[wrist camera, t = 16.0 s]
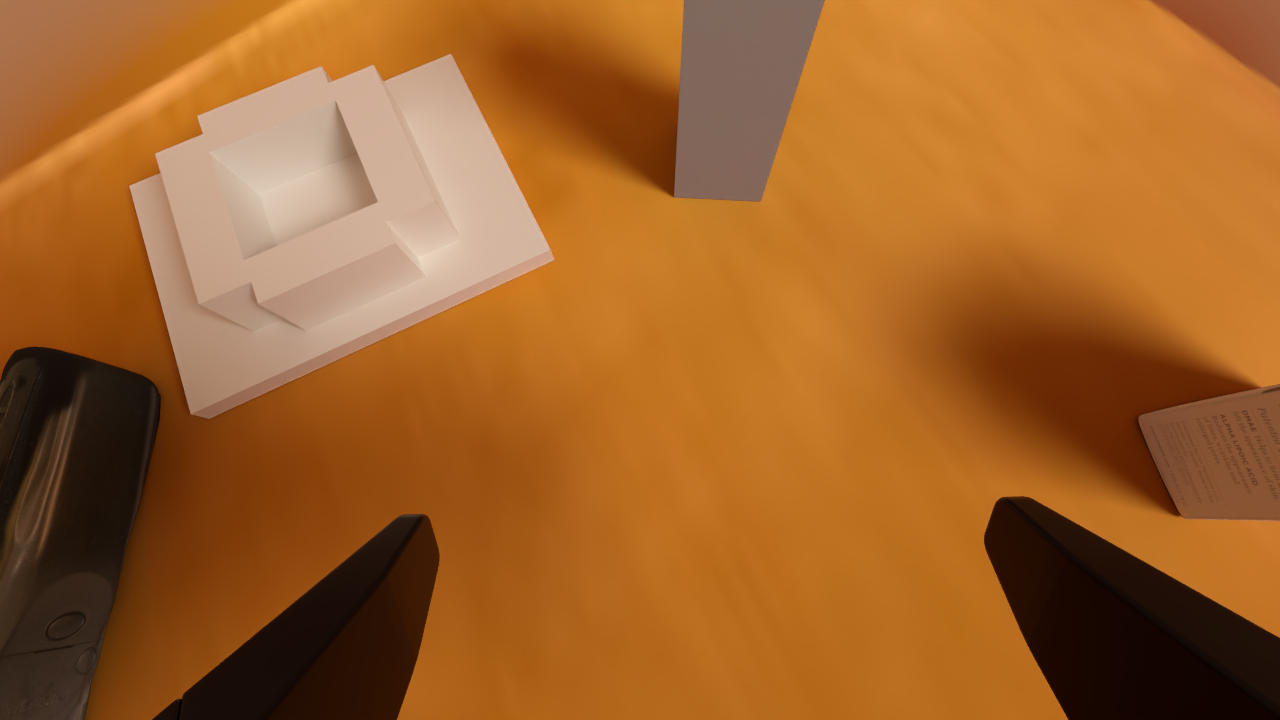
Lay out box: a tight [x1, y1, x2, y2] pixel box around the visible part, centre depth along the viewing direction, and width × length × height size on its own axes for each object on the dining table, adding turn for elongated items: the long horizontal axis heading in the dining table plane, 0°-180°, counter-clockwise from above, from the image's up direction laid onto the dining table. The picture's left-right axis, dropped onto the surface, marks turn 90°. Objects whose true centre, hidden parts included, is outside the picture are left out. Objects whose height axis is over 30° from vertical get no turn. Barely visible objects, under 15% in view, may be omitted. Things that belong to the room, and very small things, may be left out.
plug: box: [674, 0, 825, 201], centre depth 20 cm, size 4×4×13 cm
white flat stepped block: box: [129, 54, 554, 419], centre depth 24 cm, size 16×12×4 cm
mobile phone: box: [0, 347, 160, 720], centre depth 20 cm, size 5×3×15 cm
